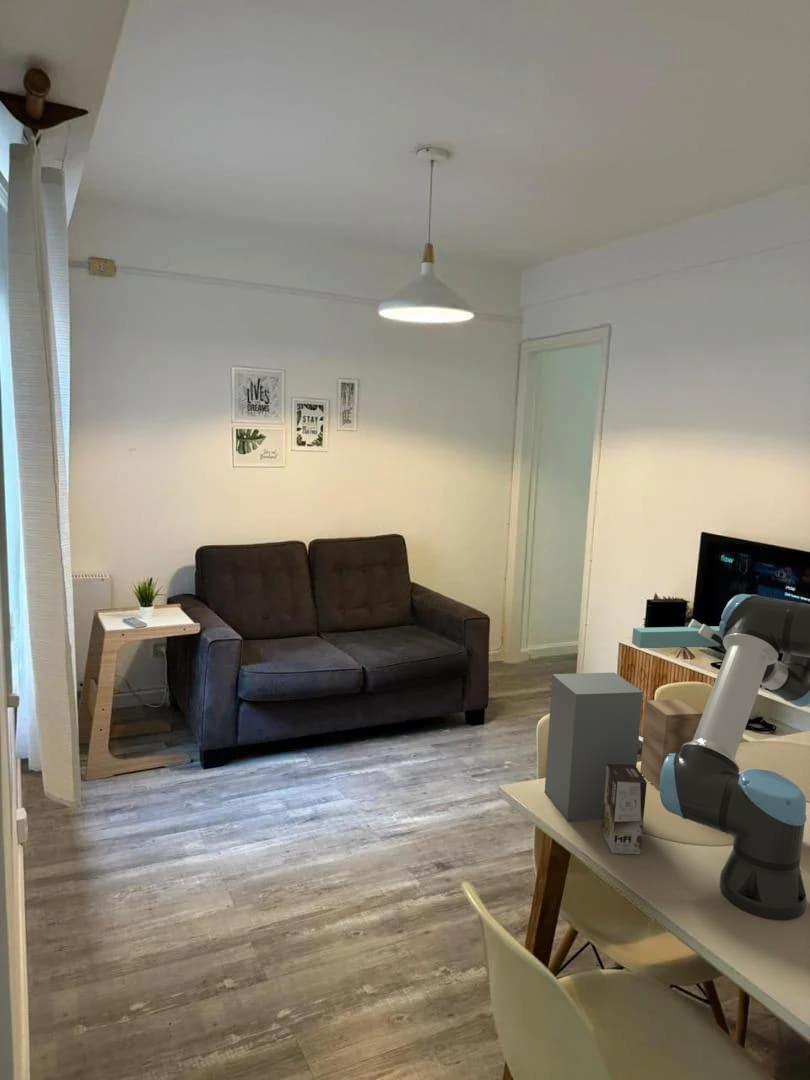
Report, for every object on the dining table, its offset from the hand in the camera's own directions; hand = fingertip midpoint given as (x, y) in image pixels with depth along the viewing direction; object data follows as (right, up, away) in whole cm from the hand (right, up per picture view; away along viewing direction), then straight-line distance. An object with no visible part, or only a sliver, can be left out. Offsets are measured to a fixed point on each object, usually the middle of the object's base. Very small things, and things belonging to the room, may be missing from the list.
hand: (696, 626), depth 190 cm
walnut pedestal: (-5, -40, +5) cm, 41 cm away
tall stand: (-29, -41, -8) cm, 51 cm away
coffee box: (-26, -44, -25) cm, 57 cm away
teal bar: (-4, -5, 0) cm, 6 cm away
